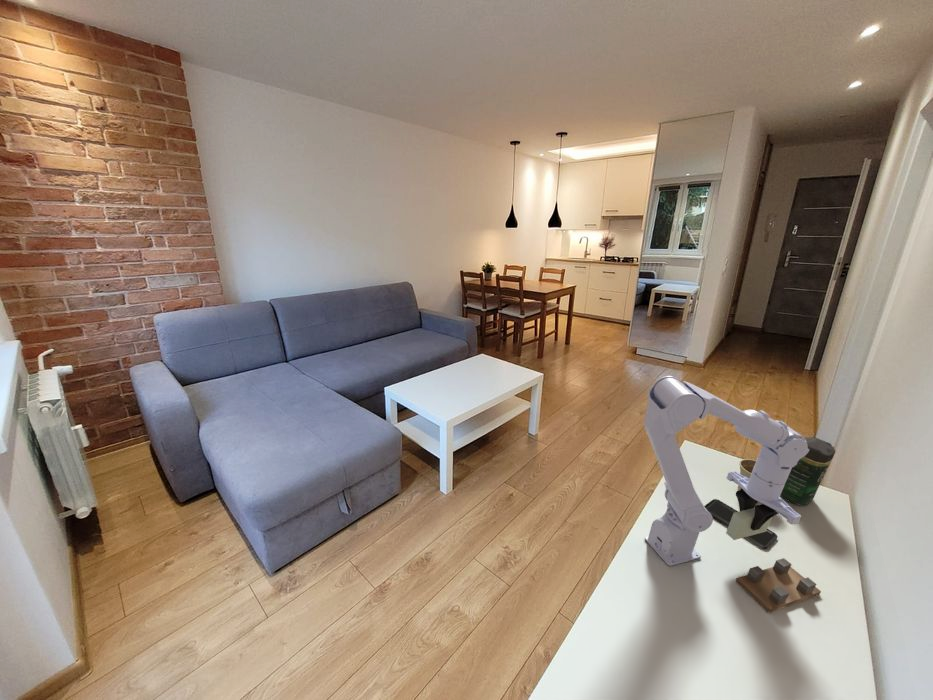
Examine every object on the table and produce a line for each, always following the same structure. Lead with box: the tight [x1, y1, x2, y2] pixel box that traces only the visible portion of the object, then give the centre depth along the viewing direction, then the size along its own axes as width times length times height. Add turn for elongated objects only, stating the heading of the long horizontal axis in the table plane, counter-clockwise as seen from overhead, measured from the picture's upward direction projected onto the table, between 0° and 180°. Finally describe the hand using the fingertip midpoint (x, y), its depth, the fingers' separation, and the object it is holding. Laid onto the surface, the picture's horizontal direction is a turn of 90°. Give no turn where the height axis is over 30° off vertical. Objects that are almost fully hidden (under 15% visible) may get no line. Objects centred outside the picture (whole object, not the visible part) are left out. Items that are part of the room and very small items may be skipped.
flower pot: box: [737, 458, 757, 491], centre depth 105 cm, size 9×9×9 cm
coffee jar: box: [780, 436, 836, 506], centre depth 103 cm, size 10×8×19 cm
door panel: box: [725, 507, 773, 541], centre depth 83 cm, size 10×2×6 cm, turn 106°
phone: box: [703, 498, 778, 551], centre depth 95 cm, size 8×1×15 cm
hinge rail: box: [735, 557, 822, 613], centre depth 78 cm, size 15×7×4 cm, turn 106°
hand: (749, 524), depth 83 cm, fingers closed on door panel, 2 cm apart
